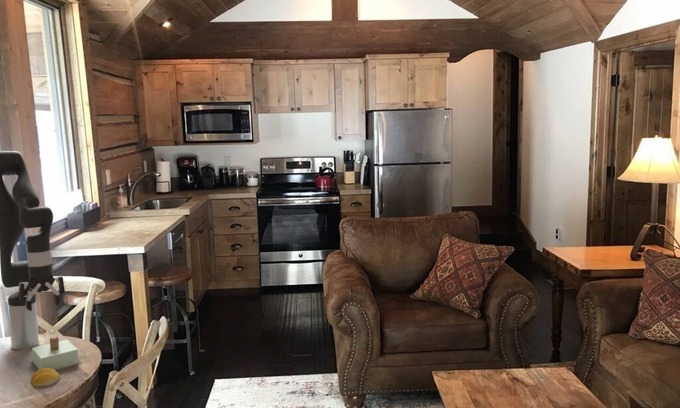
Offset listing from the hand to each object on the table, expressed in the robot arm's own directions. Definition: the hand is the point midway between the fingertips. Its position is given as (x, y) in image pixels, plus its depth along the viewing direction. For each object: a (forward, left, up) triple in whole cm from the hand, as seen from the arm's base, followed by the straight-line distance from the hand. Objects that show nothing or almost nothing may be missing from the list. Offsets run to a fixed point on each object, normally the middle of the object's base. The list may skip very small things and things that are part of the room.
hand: (43, 307), depth 195 cm
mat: (+4, +2, -20) cm, 21 cm away
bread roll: (+16, -5, -21) cm, 27 cm away
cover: (+4, +2, -20) cm, 20 cm away
